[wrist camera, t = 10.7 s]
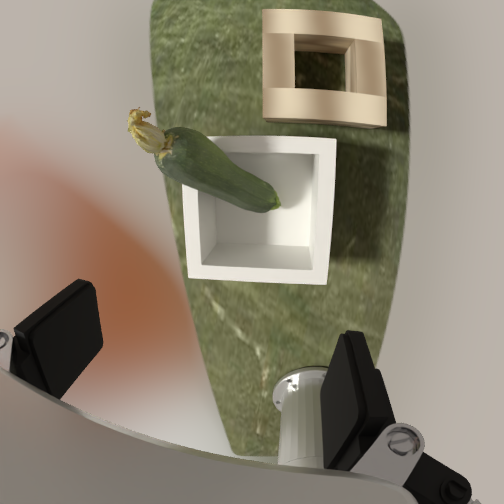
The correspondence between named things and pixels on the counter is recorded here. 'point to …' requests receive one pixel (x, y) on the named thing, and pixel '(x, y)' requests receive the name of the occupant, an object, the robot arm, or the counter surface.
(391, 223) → the counter surface
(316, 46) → the holder
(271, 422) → the counter surface
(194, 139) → the vegetable
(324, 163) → the bin
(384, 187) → the counter surface
